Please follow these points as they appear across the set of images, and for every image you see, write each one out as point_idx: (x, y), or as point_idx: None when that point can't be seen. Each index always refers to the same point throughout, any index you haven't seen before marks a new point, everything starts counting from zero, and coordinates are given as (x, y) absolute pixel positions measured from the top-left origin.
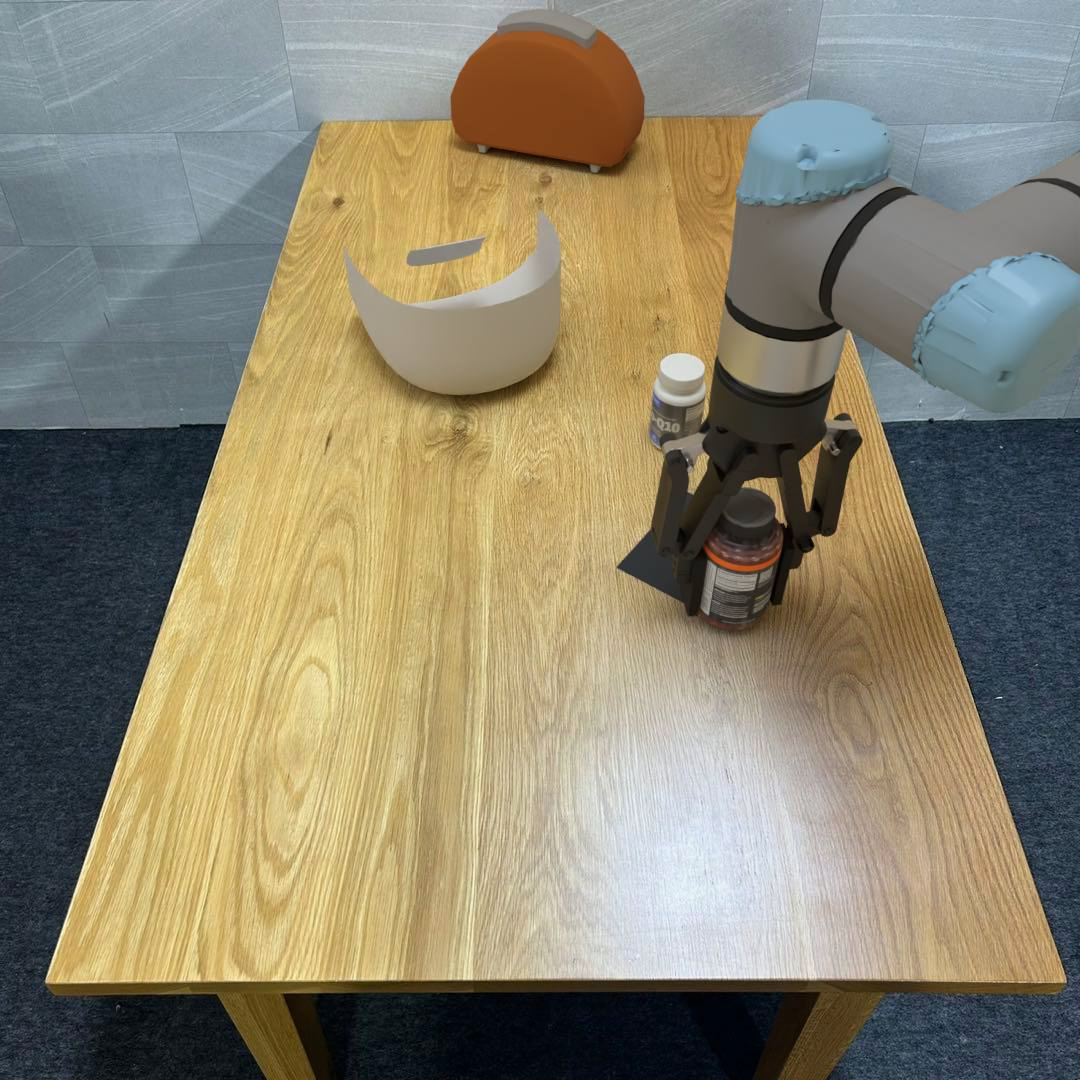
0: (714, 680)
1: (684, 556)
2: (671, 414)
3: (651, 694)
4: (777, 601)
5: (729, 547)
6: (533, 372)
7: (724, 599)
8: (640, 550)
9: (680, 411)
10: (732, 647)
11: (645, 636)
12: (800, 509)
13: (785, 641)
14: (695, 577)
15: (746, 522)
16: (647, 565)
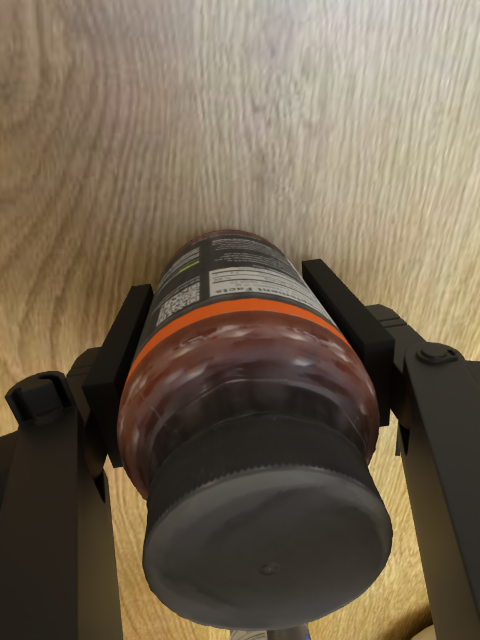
0: (282, 115)
1: (447, 349)
2: (289, 628)
3: (416, 81)
4: (139, 289)
5: (329, 375)
6: (427, 637)
7: (275, 262)
8: None
9: (277, 638)
10: (233, 201)
11: (387, 231)
12: (15, 569)
13: (127, 214)
14: (361, 307)
15: (301, 492)
16: None
